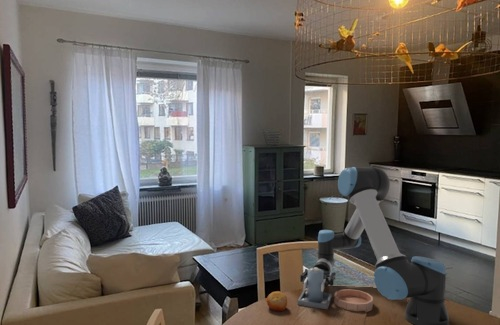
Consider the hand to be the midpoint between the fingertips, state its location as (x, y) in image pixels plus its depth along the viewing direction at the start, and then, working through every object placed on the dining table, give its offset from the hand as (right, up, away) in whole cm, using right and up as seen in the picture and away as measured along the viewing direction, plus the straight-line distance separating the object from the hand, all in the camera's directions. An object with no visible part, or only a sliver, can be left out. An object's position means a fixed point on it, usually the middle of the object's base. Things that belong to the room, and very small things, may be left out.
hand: (313, 286), depth 153 cm
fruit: (-15, -9, -2) cm, 17 cm away
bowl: (+17, -9, +4) cm, 20 cm away
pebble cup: (+2, -7, +5) cm, 9 cm away
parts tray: (+2, -8, +5) cm, 10 cm away
